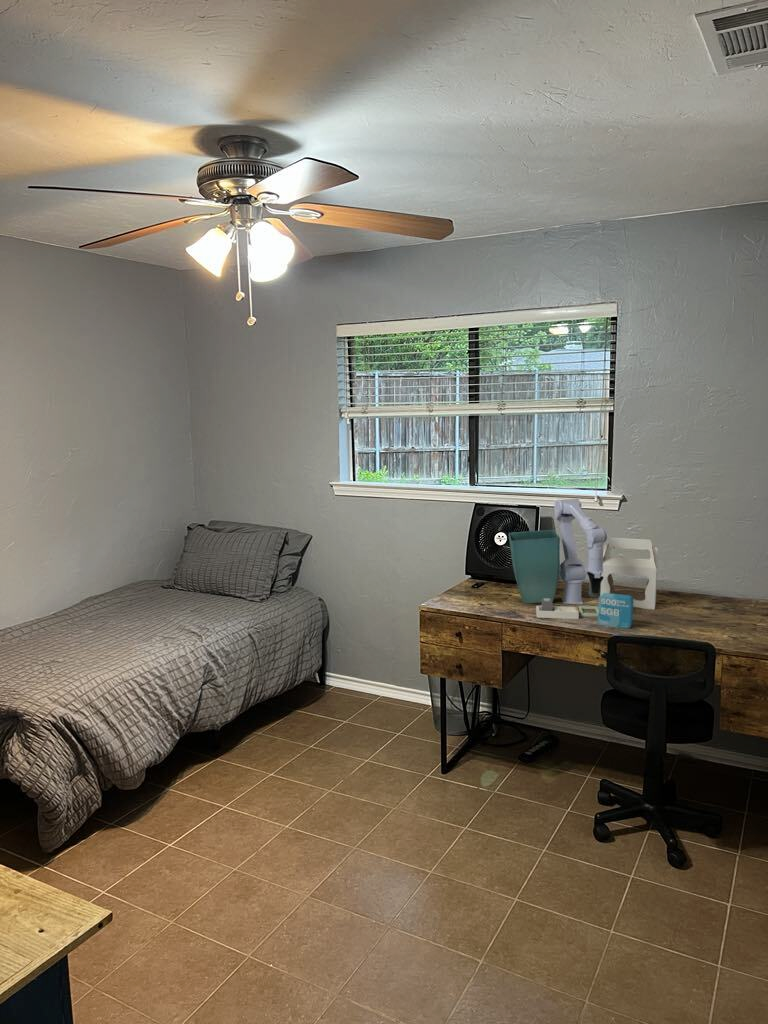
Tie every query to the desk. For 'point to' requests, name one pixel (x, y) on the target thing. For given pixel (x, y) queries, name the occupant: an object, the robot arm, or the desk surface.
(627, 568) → the gable box
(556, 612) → the cream shallow box
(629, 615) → the data package
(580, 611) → the tray
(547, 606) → the twin plug
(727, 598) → the desk surface
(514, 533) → the flower pot
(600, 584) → the plug
